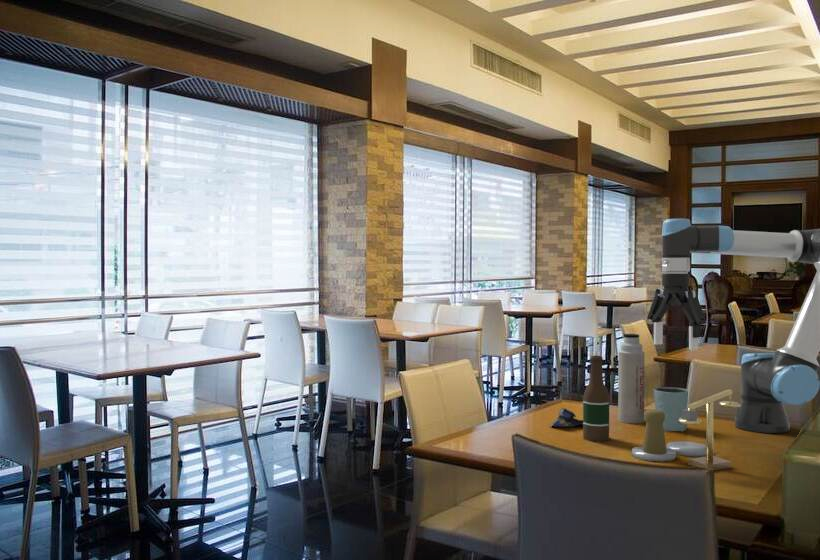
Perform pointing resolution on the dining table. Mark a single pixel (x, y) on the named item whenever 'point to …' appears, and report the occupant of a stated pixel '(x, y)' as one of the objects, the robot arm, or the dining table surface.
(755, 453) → the dining table surface
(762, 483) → the dining table surface
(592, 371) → the beer bottle
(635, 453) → the dish low end
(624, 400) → the thermos bottle
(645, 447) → the pepper shaker
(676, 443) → the dish high end
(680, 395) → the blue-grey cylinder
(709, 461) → the balance
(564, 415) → the snack package
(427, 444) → the dining table surface
